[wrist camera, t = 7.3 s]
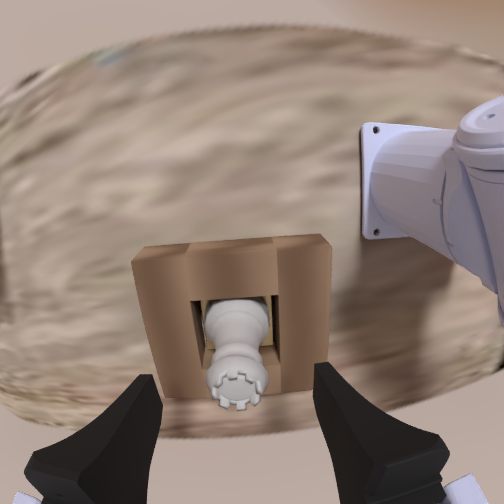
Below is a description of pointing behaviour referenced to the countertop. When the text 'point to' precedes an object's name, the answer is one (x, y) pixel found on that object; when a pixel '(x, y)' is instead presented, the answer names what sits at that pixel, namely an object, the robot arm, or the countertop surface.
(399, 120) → the countertop surface
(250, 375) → the rook chess piece
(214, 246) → the socket block
